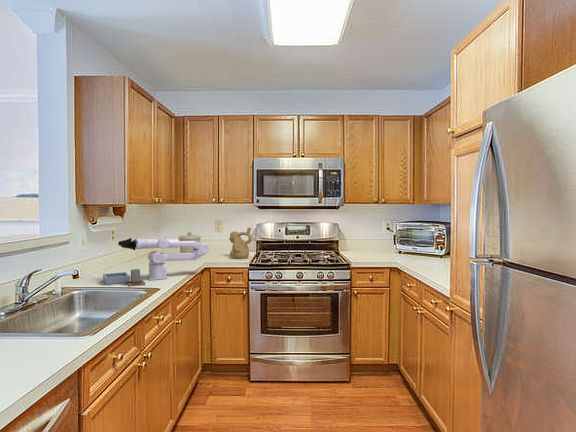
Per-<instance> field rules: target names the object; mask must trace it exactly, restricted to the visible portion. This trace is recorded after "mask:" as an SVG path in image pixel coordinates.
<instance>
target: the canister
mask: <svg viewBox="0 0 576 432" xmlns="http://www.w3.org/2000/svg"><path fill="white" fill-rule="evenodd" d="M201 238H202V236H200V235H197V234H193V232H192V231H188V232H187V234H184V235H179V237H177V239H178V240H179V241H196V242H201ZM192 250H193V248H192V247H184V246H179V253H191V252H192Z"/></svg>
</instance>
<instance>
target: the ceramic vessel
mask: <svg viewBox="0 0 576 432" xmlns="http://www.w3.org/2000/svg"><path fill="white" fill-rule="evenodd" d="M251 230H252V228H251V227H247V230H246V231H240V232H237V231H232V232H230V233H229V241H230V243H231V244H232V247H231V248H232V249H231V250H230V252H229V256H230V257H231V259H238V260H239V259H240V260H242V259H245V260H246V259H248V258H249V256H250V250H249V246H248V245H249V244H251V242H252V240H253V238H252V237H253V236H252V235H251ZM241 236H246V237H248V239H247V240H244V239H243V238H242V237H241Z"/></svg>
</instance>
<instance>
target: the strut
mask: <svg viewBox="0 0 576 432" xmlns="http://www.w3.org/2000/svg"><path fill="white" fill-rule="evenodd" d="M140 280H141V270H140V268H133V269H130V281H131V284H133V283H140Z"/></svg>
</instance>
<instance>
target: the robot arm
mask: <svg viewBox="0 0 576 432" xmlns="http://www.w3.org/2000/svg"><path fill="white" fill-rule="evenodd" d="M118 246H120V247H121V248H122V249H124V248H125V249H129V250H133V251H136V250H143V249H144V250H145V249H146V250H148V249H162V250H164V249H179V248H180V246H184V247H192V248H193V250H192V252H191V253H180V252H158V251H154V250H153V251H149V253H148V255H147V259H148V261H149V262H148V276H147V277H146V278H147V279H148V280H149V281H155V280H156V281H157V280H166V279H167V264H166V262H174V261H176V262H180V261H182V262H183V261H196V260H198V259H200V258H201V257H203V256H205V255H207V254H208V252H209V249H210V245H209V244H208V243H205V242H201V241H200V242H196V241H179V238H176V237H173V238H167V237H165V238H163V237H157V238H139V237H138V236H136V237H135V239H133V240H132V237H129V238H127V239H125V240H124V239H123V240H120V241H118Z"/></svg>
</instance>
